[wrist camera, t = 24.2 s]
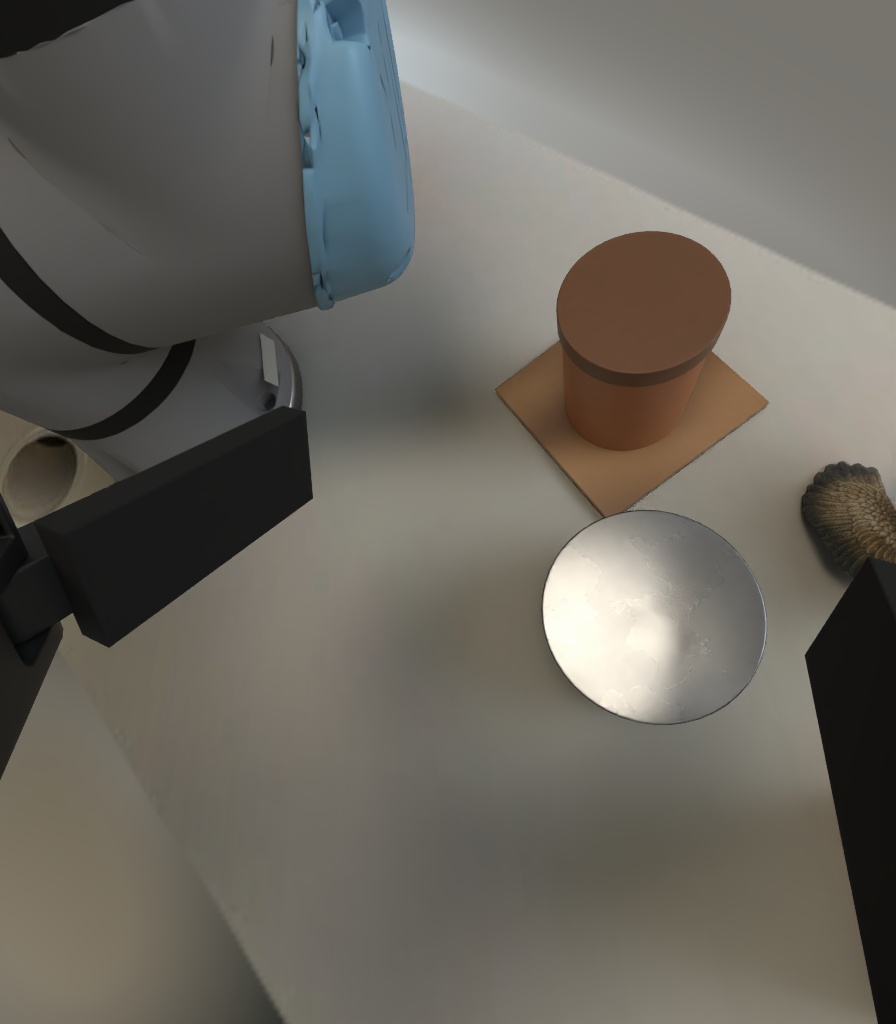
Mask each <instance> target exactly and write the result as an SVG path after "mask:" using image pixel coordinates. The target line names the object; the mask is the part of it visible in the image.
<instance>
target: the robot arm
mask: <svg viewBox="0 0 896 1024" xmlns="http://www.w3.org/2000/svg"><path fill="white" fill-rule="evenodd" d="M414 241H415V209H414V196H413V186H412V176H411V166H410V157H409V149H408V141H407V133H406V125H405V118H404V111H403V104H402V97H401V91H400V84H399V77H398V71H397V65H396V58H395V52H394V46H393V40H392V35H391V29H390V23H389V18H388V12H387V6H386V1H385V0H0V410H2V411H5V412H7V413H9V414H12V415H14V416H17V417H19V418H21V419H24V420H26V421H28V422H31V423H33V424H35V425H38V426H40V427H43V428H46V429H48V430H50V431H52V432H55V433H57V434H59V435H62V436H64V437H66V438H68V439H71V440H72V441H73V442H74V443H75V444H76V445H77V446H79V447H80V448H81V449H82V450H83V451H84V452H85V453H86V454H87V455H89V456H90V457H91V458H92V459H93V460H94V461H95V462H96V463H98V464H99V465H100V466H101V467H102V468H103V469H104V470H105V471H106V472H108V473H109V474H110V475H111V476H112V477H113V478H114V479H115V480H116V481H118V482H117V483H115V484H113V485H110V486H109V487H107V488H104V489H102V490H100V491H98V492H95V493H93V494H91V495H90V496H88V497H85V498H83V499H81V500H78V501H76V502H74V503H72V504H70V505H68V506H66V507H63V508H61V509H59V510H57V511H55V512H53V513H51V514H48V515H46V516H44V517H42V518H40V519H38V520H36V521H33V522H31V523H29V524H27V525H25V526H23V527H20V528H18V529H17V528H16V526H15V523H14V521H13V519H12V517H11V515H10V513H9V511H8V508H7V506H6V504H5V502H4V500H3V498H2V495H1V493H0V779H1V777H2V774H3V772H4V770H5V767H6V765H7V763H8V761H9V758H10V756H11V754H12V752H13V749H14V747H15V745H16V743H17V740H18V738H19V735H20V733H21V731H22V729H23V726H24V724H25V722H26V719H27V717H28V715H29V713H30V710H31V708H32V706H33V703H34V701H35V699H36V696H37V694H38V692H39V690H40V687H41V685H42V683H43V680H44V678H45V676H46V674H47V671H48V669H49V667H50V664H51V662H52V660H53V658H54V655H55V653H56V651H57V648H58V646H59V644H60V641H61V639H62V636H63V627H62V625H61V623H60V620H62V619H64V618H65V617H67V616H68V615H70V614H71V613H73V614H74V616H75V619H76V621H77V623H78V625H79V628H80V630H81V632H82V634H83V635H85V636H87V637H89V638H91V639H93V640H95V641H97V642H99V643H101V644H103V645H105V646H107V647H111V646H112V645H114V644H115V643H116V642H118V641H119V640H120V639H122V638H123V637H124V636H126V635H127V634H129V633H130V632H131V631H133V630H134V629H135V628H137V627H138V626H139V625H141V624H142V623H144V622H145V621H146V620H148V619H149V618H150V617H152V616H153V615H154V614H156V613H157V612H159V611H160V610H161V609H163V608H164V607H165V606H167V605H168V604H169V603H171V602H172V601H174V600H175V599H176V598H178V597H179V596H180V595H182V594H183V593H184V592H186V591H187V590H189V589H190V588H191V587H193V586H194V585H195V584H197V583H198V582H199V581H201V580H202V579H204V578H205V577H206V576H208V575H209V574H210V573H212V572H213V571H214V570H216V569H217V568H218V567H220V566H221V565H223V564H224V563H225V562H227V561H228V560H229V559H231V558H232V557H233V556H235V555H236V554H238V553H239V552H240V551H242V550H243V549H244V548H246V547H247V546H248V545H250V544H251V543H253V542H254V541H255V540H257V539H258V538H259V537H261V536H262V535H263V534H265V533H266V532H268V531H269V530H270V529H272V528H273V527H274V526H276V525H277V524H278V523H280V522H281V521H283V520H284V519H285V518H287V517H288V516H289V515H291V514H292V513H293V512H295V511H296V510H298V509H299V508H300V507H302V506H303V505H304V504H306V503H307V502H308V501H310V500H311V499H313V494H312V482H311V470H310V458H309V446H308V434H307V422H306V411H302V410H301V405H302V380H301V375H300V371H299V368H298V364H297V362H296V360H295V358H294V356H293V354H292V352H291V351H290V349H289V348H288V347H287V345H286V344H285V343H284V342H283V341H282V340H281V339H280V338H279V336H278V335H277V334H276V333H275V332H274V331H273V330H272V329H271V328H270V327H268V326H267V325H266V324H264V323H263V322H261V321H264V320H268V319H272V318H275V317H279V316H283V315H287V314H290V313H294V312H298V311H301V310H305V309H309V308H313V307H316V306H318V307H319V308H320V309H321V310H328V309H330V308H332V307H333V306H334V304H335V302H336V301H339V300H343V299H346V298H349V297H352V296H355V295H358V294H361V293H365V292H368V291H371V290H374V289H377V288H380V287H383V286H386V285H388V284H390V283H391V282H393V281H395V280H396V279H397V278H398V277H399V276H400V275H401V274H402V273H403V272H404V270H405V269H406V267H407V266H408V264H409V261H410V259H411V256H412V253H413V248H414ZM805 659H806V664H807V669H808V674H809V679H810V684H811V689H812V694H813V699H814V704H815V709H816V714H817V719H818V724H819V729H820V734H821V739H822V744H823V749H824V754H825V759H826V764H827V769H828V774H829V779H830V784H831V789H832V794H833V799H834V804H835V809H836V815H837V820H838V825H839V830H840V835H841V840H842V845H843V850H844V855H845V860H846V865H847V870H848V875H849V880H850V885H851V890H852V895H853V900H854V905H855V910H856V915H857V920H858V925H859V930H860V935H861V940H862V945H863V950H864V955H865V960H866V965H867V970H868V976H869V981H870V986H871V991H872V996H873V1001H874V1006H875V1011H876V1016H877V1021H878V1024H896V564H895V563H891V562H887V561H884V560H880V559H876V558H872V557H867V559H866V561H865V562H864V564H863V565H862V567H861V568H860V570H859V571H858V573H857V575H856V576H855V578H854V579H853V581H852V582H851V584H850V586H849V587H848V589H847V590H846V592H845V593H844V595H843V596H842V598H841V600H840V601H839V603H838V604H837V606H836V607H835V609H834V610H833V612H832V614H831V615H830V617H829V618H828V620H827V621H826V623H825V625H824V626H823V628H822V629H821V631H820V632H819V634H818V635H817V637H816V639H815V640H814V642H813V643H812V645H811V646H810V648H809V649H808V651H807V653H806V654H805Z"/></svg>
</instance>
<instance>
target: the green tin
mask: <svg viewBox="0 0 896 1024" xmlns="http://www.w3.org/2000/svg"><path fill="white" fill-rule="evenodd" d="M541 610H542V623H543V628H544V634H545V637H546V640H547V643H548V646H549V649H550V651H551V653H552V655H553V658H554V660H555V662H556V663H557V665H558V666H559V668H560V670H561V671H562V673H563V674H564V675H565V677H566V678H567V679H568V680H569V681H570V683H571V684H572V685H573V686H574V687H575V688H576V689H577V690H578V691H579V692H580V693H581V694H582V695H583V696H585V697H586V698H588V699H589V700H590V701H592V702H593V703H594V704H596V705H597V706H599V707H601V708H603V709H604V710H606V711H608V712H610V713H612V714H615V715H617V716H619V717H622V718H624V719H628V720H632V721H635V722H639V723H646V724H653V725H673V724H681V723H687V722H691V721H694V720H698V719H701V718H704V717H706V716H708V715H711V714H713V713H715V712H717V711H718V710H720V709H721V708H723V707H725V706H726V705H728V704H729V703H730V702H731V701H732V700H734V699H735V698H736V697H737V696H738V695H739V694H740V693H741V692H742V691H743V690H744V688H745V687H746V686H747V685H748V684H749V682H750V680H751V679H752V677H753V676H754V674H755V673H756V670H757V668H758V666H759V664H760V661H761V659H762V655H763V652H764V648H765V644H766V635H767V616H766V610H765V604H764V600H763V596H762V593H761V590H760V587H759V585H758V583H757V581H756V579H755V577H754V574H753V573H752V571H751V569H750V568H749V566H748V565H747V563H746V562H745V560H744V559H743V558H742V557H741V555H740V554H739V553H738V552H737V551H736V550H735V548H733V547H732V546H731V545H730V544H729V543H728V542H727V541H726V540H725V539H724V538H722V537H721V536H720V535H718V534H717V533H715V532H714V531H713V530H711V529H709V528H708V527H706V526H704V525H702V524H701V523H699V522H696V521H694V520H692V519H689V518H687V517H684V516H680V515H677V514H673V513H669V512H663V511H655V510H636V511H627V512H622V513H617V514H614V515H611V516H608V517H605V518H602V519H600V520H598V521H596V522H594V523H592V524H590V525H588V526H587V527H585V528H584V529H582V530H581V531H580V532H578V533H577V534H576V535H575V536H574V537H572V538H571V539H570V540H569V541H568V543H567V544H566V545H565V546H564V547H563V548H562V549H561V551H560V552H559V554H558V555H557V557H556V558H555V560H554V562H553V564H552V566H551V568H550V570H549V572H548V575H547V578H546V581H545V584H544V589H543V594H542V607H541Z"/></svg>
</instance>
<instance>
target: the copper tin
mask: <svg viewBox="0 0 896 1024" xmlns="http://www.w3.org/2000/svg"><path fill="white" fill-rule="evenodd" d="M730 305H731V288H730V283H729V279H728V277H727V274H726V272H725V270H724V268H723V266H722V265H721V263H720V262H719V261H718V259H717V258H716V257H715V256H714V255H713V254H712V253H711V252H710V251H709V250H708V249H706V248H705V247H703V246H702V245H700V244H699V243H697V242H695V241H693V240H691V239H689V238H686V237H683V236H681V235H677V234H673V233H667V232H659V231H645V232H635V233H630V234H625V235H622V236H618V237H615V238H613V239H610V240H608V241H605V242H604V243H602V244H600V245H598V246H596V247H595V248H593V249H592V250H590V251H589V252H587V253H586V254H585V255H584V256H583V257H581V258H580V259H579V260H578V261H577V262H576V264H575V265H574V266H573V267H572V268H571V270H570V271H569V272H568V274H567V275H566V277H565V279H564V281H563V283H562V285H561V288H560V290H559V294H558V298H557V308H556V311H557V326H558V334H559V338H560V342H561V344H562V357H563V375H564V393H565V407H566V412H567V415H568V418H569V420H570V422H571V424H572V425H573V427H574V428H575V429H576V431H577V432H578V433H579V434H580V435H581V436H582V437H584V438H585V439H586V440H588V441H589V442H591V443H593V444H595V445H597V446H600V447H603V448H607V449H611V450H621V451H627V450H635V449H640V448H644V447H647V446H649V445H652V444H654V443H656V442H658V441H659V440H661V439H662V438H664V437H665V436H666V435H667V434H669V433H670V432H671V431H672V429H673V428H674V427H675V426H676V424H677V423H678V422H679V420H680V418H681V416H682V414H683V411H684V409H685V407H686V404H687V402H688V400H689V397H690V395H691V393H692V390H693V388H694V386H695V383H696V381H697V379H698V376H699V374H700V372H701V369H702V367H703V364H704V362H705V360H706V357H707V355H708V354H709V353H710V352H711V350H712V349H713V347H714V346H715V344H716V342H717V340H718V338H719V336H720V334H721V332H722V329H723V327H724V325H725V323H726V320H727V317H728V314H729V311H730Z"/></svg>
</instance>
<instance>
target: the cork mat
mask: <svg viewBox="0 0 896 1024" xmlns="http://www.w3.org/2000/svg"><path fill="white" fill-rule="evenodd" d="M495 391H496V394H497V395H498V396H499V397H500V398H501V399H502V401H503V402H504V403H505V404H506V405H507V406H508V407H509V409H510V410H511V411H512V412H513V413H514V414H515V416H516V417H517V418H518V419H519V420H520V421H521V423H522V424H523V425H524V426H525V427H526V428H527V429H528V431H529V432H530V433H531V434H532V435H533V436H534V438H535V439H536V440H537V441H538V442H539V443H540V444H541V446H542V447H543V448H544V449H545V450H546V451H547V453H548V454H549V455H550V456H551V457H552V458H553V459H554V461H555V462H556V463H557V464H558V465H559V466H560V468H561V469H562V470H563V471H564V472H565V473H566V475H567V476H568V477H569V478H570V479H571V480H572V481H573V483H574V484H575V485H576V486H577V487H578V488H579V490H580V491H581V492H582V493H583V494H584V495H585V496H586V498H587V499H588V500H589V501H590V502H591V503H592V505H593V506H594V507H595V508H596V509H597V510H598V512H599V513H600V514H601V515H602V516H603V517H604V518H605V517H608V516H611V515H614V514H617V513H622V512H624V511H626V510H627V509H628V508H630V507H631V506H632V505H634V504H635V503H636V502H638V501H639V500H640V499H642V498H643V497H645V496H646V495H647V494H649V493H650V492H651V491H653V490H654V489H655V488H657V487H658V486H659V485H661V484H662V483H663V482H665V481H666V480H668V479H669V478H670V477H672V476H673V475H674V474H676V473H677V472H678V471H680V470H681V469H682V468H684V467H685V466H687V465H688V464H689V463H691V462H692V461H693V460H695V459H696V458H697V457H699V456H700V455H701V454H703V453H704V452H705V451H707V450H708V449H710V448H711V447H712V446H714V445H715V444H716V443H718V442H719V441H720V440H722V439H723V438H724V437H726V436H727V435H728V434H730V433H731V432H733V431H734V430H735V429H737V428H738V427H739V426H741V425H742V424H743V423H745V422H746V421H747V420H749V419H750V418H752V417H753V416H754V415H756V414H757V413H758V412H760V411H761V410H762V409H764V408H765V407H766V406H767V405H768V404H769V402H768V401H767V400H766V399H765V398H764V397H763V396H762V395H760V394H759V393H758V392H757V391H756V390H755V389H754V388H753V387H751V386H750V385H749V384H748V383H747V382H746V381H745V380H744V379H742V378H741V377H740V376H739V375H738V374H737V373H736V372H734V371H733V370H732V369H731V368H730V367H729V366H728V365H727V364H725V363H724V362H723V361H722V360H721V359H720V358H719V357H718V356H716V355H715V354H714V353H713V352H712V351H711V352H710V353H709V354H708V355H707V357H706V360H705V362H704V364H703V367H702V369H701V372H700V374H699V376H698V379H697V381H696V383H695V386H694V388H693V390H692V393H691V395H690V397H689V400H688V402H687V404H686V407H685V409H684V411H683V414H682V416H681V418H680V420H679V422H678V423H677V424H676V426H675V427H674V428H673V429H672V431H671V432H670V433H669V434H667V435H666V436H665V437H664V438H662V439H661V440H659V441H658V442H656V443H654V444H652V445H649V446H647V447H644V448H640V449H635V450H627V451H621V450H611V449H607V448H603V447H600V446H597V445H595V444H593V443H591V442H589V441H588V440H586V439H585V438H584V437H582V436H581V435H580V434H579V433H578V432H577V431H576V429H575V428H574V427H573V425H572V424H571V422H570V420H569V418H568V415H567V412H566V407H565V393H564V375H563V357H562V344H561V342H560V341H559V342H557V343H556V344H555V345H553V346H552V347H551V348H549V349H548V350H547V351H545V352H544V353H543V354H541V355H540V356H539V357H537V358H536V359H535V360H533V361H532V362H531V363H529V364H528V365H527V366H526V367H524V368H523V369H522V370H520V371H519V372H518V373H516V374H515V375H514V376H512V377H511V378H510V379H508V380H507V381H506V382H504V383H503V384H502V385H500V386H499V387H498V388H496V389H495Z"/></svg>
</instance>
